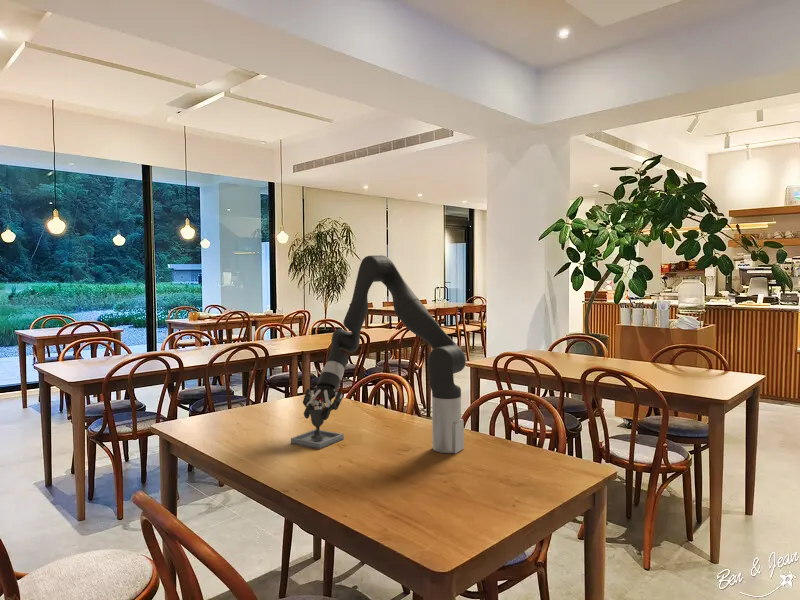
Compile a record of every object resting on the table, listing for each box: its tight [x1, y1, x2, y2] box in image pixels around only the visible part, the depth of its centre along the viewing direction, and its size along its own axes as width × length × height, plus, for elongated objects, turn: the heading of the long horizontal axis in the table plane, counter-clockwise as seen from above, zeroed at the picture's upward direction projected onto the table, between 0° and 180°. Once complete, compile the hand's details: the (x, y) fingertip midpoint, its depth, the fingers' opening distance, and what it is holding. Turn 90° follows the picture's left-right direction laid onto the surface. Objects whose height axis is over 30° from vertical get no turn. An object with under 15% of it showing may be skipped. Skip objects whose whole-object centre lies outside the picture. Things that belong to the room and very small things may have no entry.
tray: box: [290, 428, 345, 450], centre depth 185 cm, size 13×13×2 cm
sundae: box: [308, 392, 327, 439], centre depth 184 cm, size 7×7×15 cm
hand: (314, 418), depth 183 cm, fingers closed on sundae, 6 cm apart
